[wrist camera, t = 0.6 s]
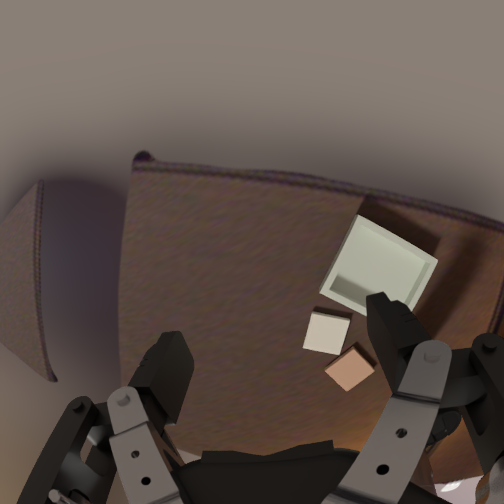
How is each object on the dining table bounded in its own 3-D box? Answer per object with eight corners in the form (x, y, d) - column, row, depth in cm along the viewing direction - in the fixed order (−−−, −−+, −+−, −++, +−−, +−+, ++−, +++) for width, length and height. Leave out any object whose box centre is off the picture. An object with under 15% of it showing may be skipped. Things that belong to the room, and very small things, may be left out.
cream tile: (348, 317, 41) (349, 321, 40) (338, 350, 42) (339, 354, 41) (312, 310, 43) (312, 313, 41) (303, 343, 44) (302, 347, 42)
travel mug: (410, 330, 39) (459, 400, 20) (423, 358, 39) (466, 431, 20) (378, 350, 40) (407, 431, 21) (392, 377, 40) (421, 458, 21)
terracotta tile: (373, 366, 42) (374, 370, 40) (346, 386, 43) (346, 391, 42) (352, 344, 42) (353, 348, 40) (324, 366, 43) (324, 370, 42)
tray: (430, 257, 37) (438, 260, 34) (394, 324, 39) (399, 332, 37) (355, 214, 39) (358, 214, 36) (319, 287, 41) (319, 292, 38)
